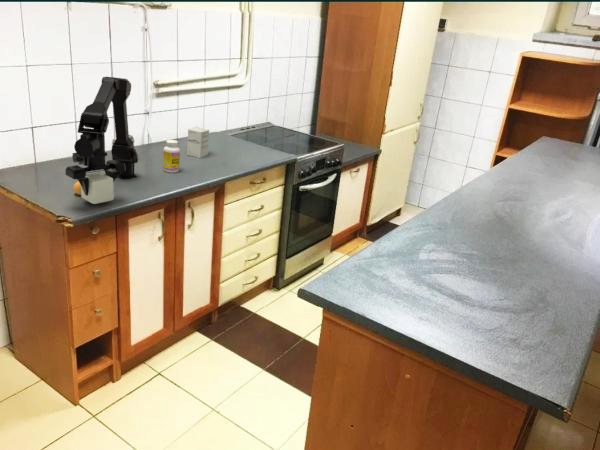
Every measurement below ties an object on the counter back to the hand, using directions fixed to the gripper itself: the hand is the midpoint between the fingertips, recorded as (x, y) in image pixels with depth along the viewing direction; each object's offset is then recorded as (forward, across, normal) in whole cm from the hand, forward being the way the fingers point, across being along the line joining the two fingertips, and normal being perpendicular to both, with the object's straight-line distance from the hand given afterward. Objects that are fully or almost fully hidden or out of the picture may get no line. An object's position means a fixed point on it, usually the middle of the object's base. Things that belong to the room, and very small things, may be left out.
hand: (97, 193), depth 175 cm
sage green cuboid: (+2, 0, 0) cm, 2 cm away
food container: (+4, -36, -38) cm, 53 cm away
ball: (+2, 0, -10) cm, 11 cm away
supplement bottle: (+4, -44, -18) cm, 47 cm away
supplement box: (+4, -69, -30) cm, 75 cm away
